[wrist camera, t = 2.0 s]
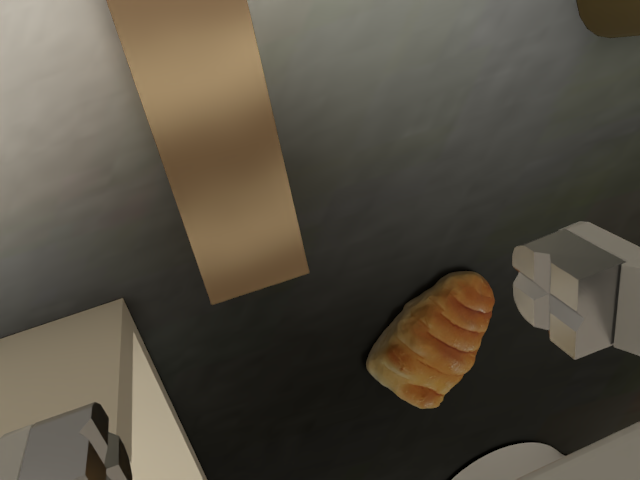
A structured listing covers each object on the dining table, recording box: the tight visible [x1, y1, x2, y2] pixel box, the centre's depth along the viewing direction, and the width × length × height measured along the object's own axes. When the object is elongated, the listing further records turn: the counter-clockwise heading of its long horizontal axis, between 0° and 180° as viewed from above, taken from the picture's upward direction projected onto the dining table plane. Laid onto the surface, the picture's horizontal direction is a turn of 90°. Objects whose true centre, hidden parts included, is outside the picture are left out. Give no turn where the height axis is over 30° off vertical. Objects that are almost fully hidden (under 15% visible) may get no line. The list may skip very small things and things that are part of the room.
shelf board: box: [106, 0, 309, 305], centre depth 24 cm, size 14×5×4 cm, turn 11°
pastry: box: [366, 271, 495, 409], centre depth 34 cm, size 9×7×4 cm
